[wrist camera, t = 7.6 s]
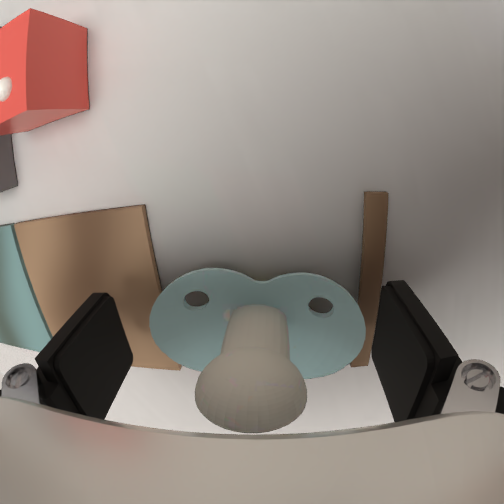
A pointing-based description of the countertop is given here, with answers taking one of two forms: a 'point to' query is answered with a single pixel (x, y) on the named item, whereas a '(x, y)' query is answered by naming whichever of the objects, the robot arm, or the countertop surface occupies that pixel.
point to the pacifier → (256, 342)
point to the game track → (124, 275)
